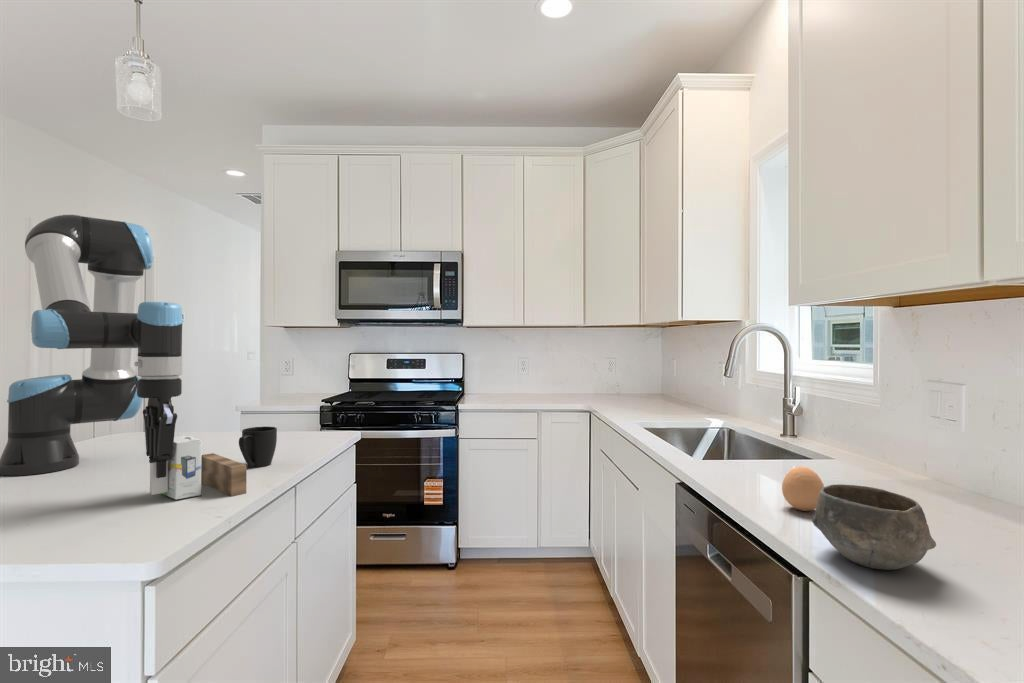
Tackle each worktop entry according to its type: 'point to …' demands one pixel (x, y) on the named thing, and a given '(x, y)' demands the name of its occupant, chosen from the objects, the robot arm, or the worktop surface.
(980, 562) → the worktop surface
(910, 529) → the bowl
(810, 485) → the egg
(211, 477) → the wooden block
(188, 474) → the ink box
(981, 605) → the worktop surface
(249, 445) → the mug
